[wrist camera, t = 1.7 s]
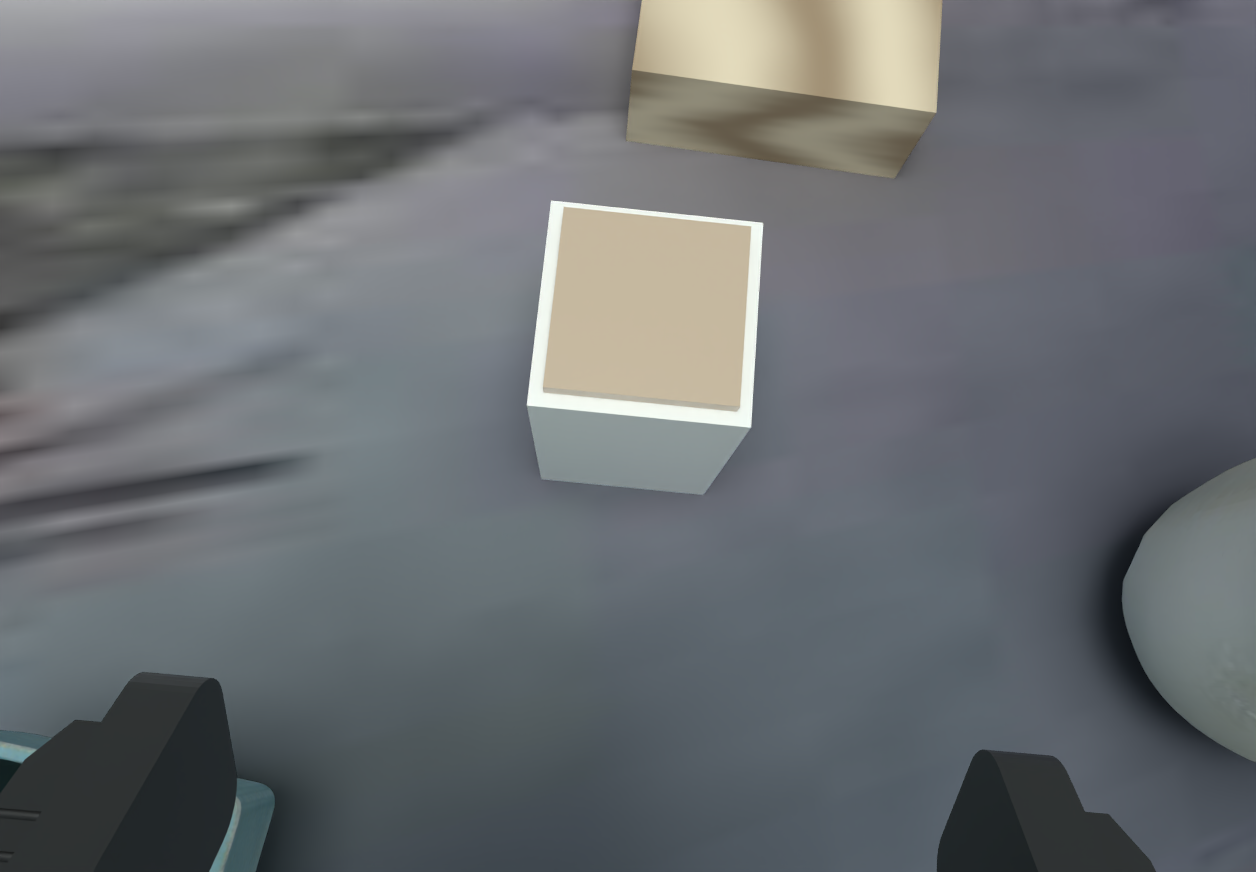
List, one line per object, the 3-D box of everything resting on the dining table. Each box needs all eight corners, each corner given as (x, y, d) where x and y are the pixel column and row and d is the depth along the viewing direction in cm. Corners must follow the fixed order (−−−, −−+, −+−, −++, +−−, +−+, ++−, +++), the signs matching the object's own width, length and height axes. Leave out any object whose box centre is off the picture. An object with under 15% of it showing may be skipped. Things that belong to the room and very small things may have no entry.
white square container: (541, 479, 35) (525, 400, 25) (558, 325, 36) (550, 192, 26) (703, 494, 35) (754, 423, 25) (714, 341, 37) (766, 214, 26)
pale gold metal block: (625, 145, 39) (632, 69, 34) (657, -80, 41) (667, -179, 37) (891, 182, 39) (936, 112, 34) (906, -44, 42) (949, -138, 37)
